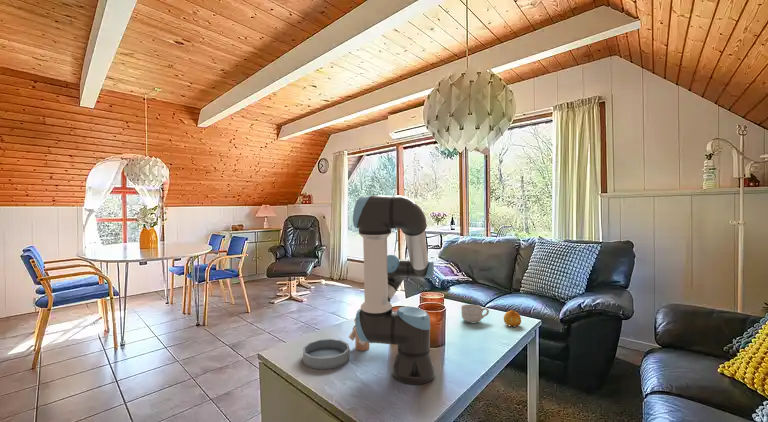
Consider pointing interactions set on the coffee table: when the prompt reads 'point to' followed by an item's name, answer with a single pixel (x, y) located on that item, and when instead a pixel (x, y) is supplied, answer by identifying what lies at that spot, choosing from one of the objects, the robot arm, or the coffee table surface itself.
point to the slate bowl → (326, 354)
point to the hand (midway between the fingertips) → (355, 341)
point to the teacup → (473, 313)
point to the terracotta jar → (357, 344)
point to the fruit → (512, 318)
